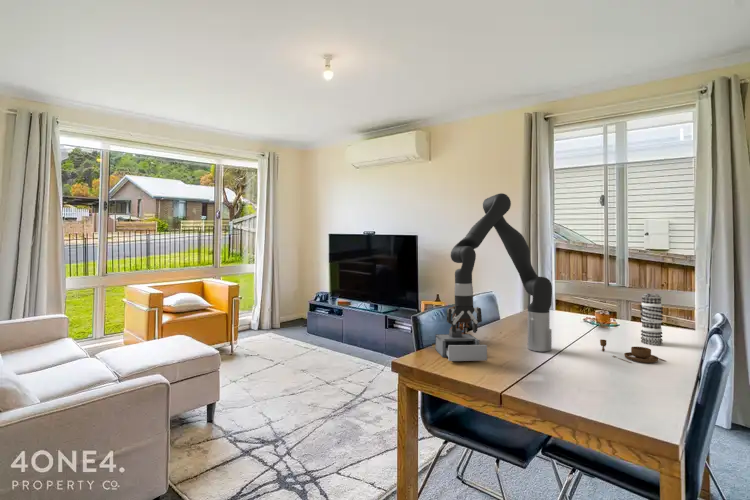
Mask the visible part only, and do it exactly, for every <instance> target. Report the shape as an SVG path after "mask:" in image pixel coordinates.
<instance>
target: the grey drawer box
mask: <svg viewBox="0 0 750 500" xmlns="http://www.w3.org/2000/svg"><path fill="white" fill-rule="evenodd" d="M462 332H463V330H460V329H459V328H458V329H456V334H454V333H453V332H452V329H451V328H449V333H447V334H446V333H444V334H443V333H441V334H440V333H439V334H435V351H436V352H437V353H438V354H439V355H440V356H441V357H442V358H448V356H447V355H446V354H445V348H448V345H481V344H480V339H479V338H477V337H475V336H473V335H472V334H470V333H466V334H462Z"/></svg>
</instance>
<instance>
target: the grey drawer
mask: <svg viewBox="0 0 750 500" xmlns="http://www.w3.org/2000/svg"><path fill="white" fill-rule="evenodd" d="M445 354H446V355H447V356H448V357H447V358H448V359H447V360H448V362H464V361H465V362H467V361H468V362H469V361H471V362H472V361H473V362H475V361H477V362H478V361H487V360H488V345H487V344H480V345H448V348H445Z"/></svg>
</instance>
